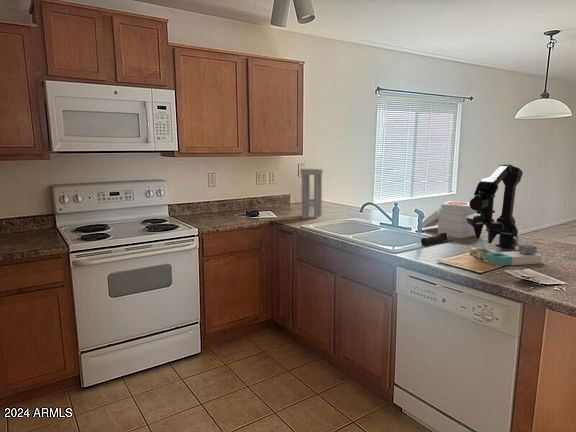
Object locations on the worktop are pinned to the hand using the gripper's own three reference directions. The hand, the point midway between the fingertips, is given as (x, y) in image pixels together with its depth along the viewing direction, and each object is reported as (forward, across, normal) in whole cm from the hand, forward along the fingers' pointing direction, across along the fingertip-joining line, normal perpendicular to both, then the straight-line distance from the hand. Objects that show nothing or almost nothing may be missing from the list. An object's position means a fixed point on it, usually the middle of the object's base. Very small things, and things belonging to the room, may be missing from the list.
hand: (483, 241), depth 187 cm
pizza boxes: (+8, -48, +10) cm, 50 cm away
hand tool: (+8, -28, -9) cm, 30 cm away
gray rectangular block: (+7, +11, +14) cm, 19 cm away
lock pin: (+7, 0, 0) cm, 7 cm away
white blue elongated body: (+8, -27, +34) cm, 45 cm away
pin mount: (+7, 0, 0) cm, 7 cm away
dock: (+7, +11, +8) cm, 15 cm away
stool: (+7, -115, -59) cm, 129 cm away
